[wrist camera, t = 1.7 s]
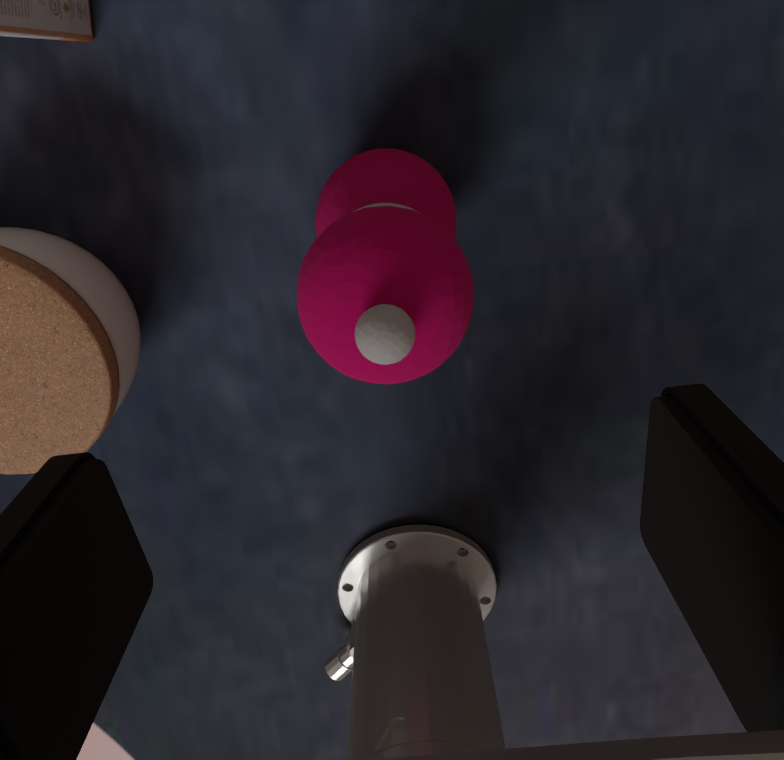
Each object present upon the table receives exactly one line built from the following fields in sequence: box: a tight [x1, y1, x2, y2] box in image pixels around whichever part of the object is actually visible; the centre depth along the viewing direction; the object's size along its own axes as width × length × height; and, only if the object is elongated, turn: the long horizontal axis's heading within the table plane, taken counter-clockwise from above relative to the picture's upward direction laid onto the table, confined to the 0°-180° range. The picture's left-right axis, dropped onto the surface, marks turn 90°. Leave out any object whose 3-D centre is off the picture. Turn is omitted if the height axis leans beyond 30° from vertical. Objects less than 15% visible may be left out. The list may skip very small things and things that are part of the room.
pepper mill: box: [297, 148, 473, 384], centre depth 25 cm, size 7×7×20 cm
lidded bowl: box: [0, 227, 141, 474], centre depth 32 cm, size 13×13×11 cm
